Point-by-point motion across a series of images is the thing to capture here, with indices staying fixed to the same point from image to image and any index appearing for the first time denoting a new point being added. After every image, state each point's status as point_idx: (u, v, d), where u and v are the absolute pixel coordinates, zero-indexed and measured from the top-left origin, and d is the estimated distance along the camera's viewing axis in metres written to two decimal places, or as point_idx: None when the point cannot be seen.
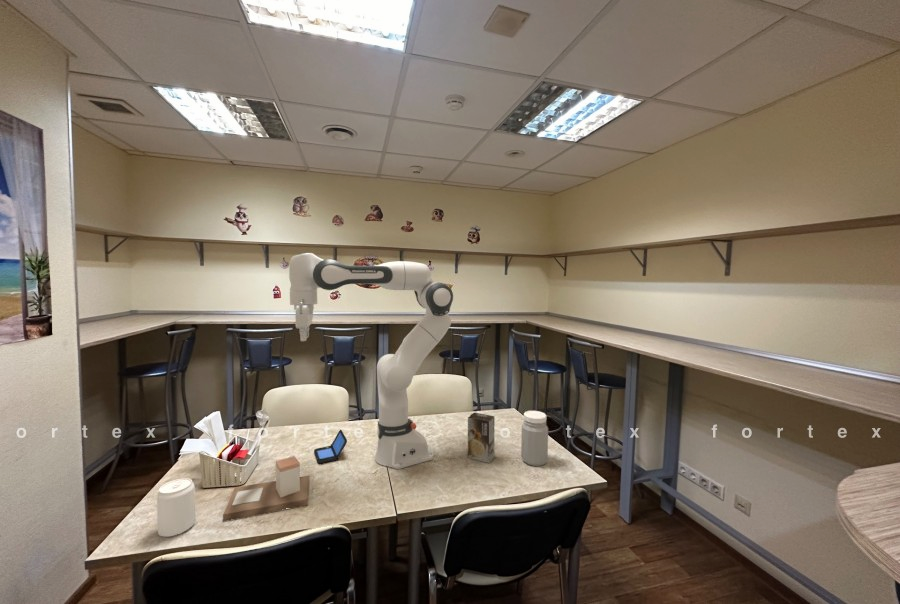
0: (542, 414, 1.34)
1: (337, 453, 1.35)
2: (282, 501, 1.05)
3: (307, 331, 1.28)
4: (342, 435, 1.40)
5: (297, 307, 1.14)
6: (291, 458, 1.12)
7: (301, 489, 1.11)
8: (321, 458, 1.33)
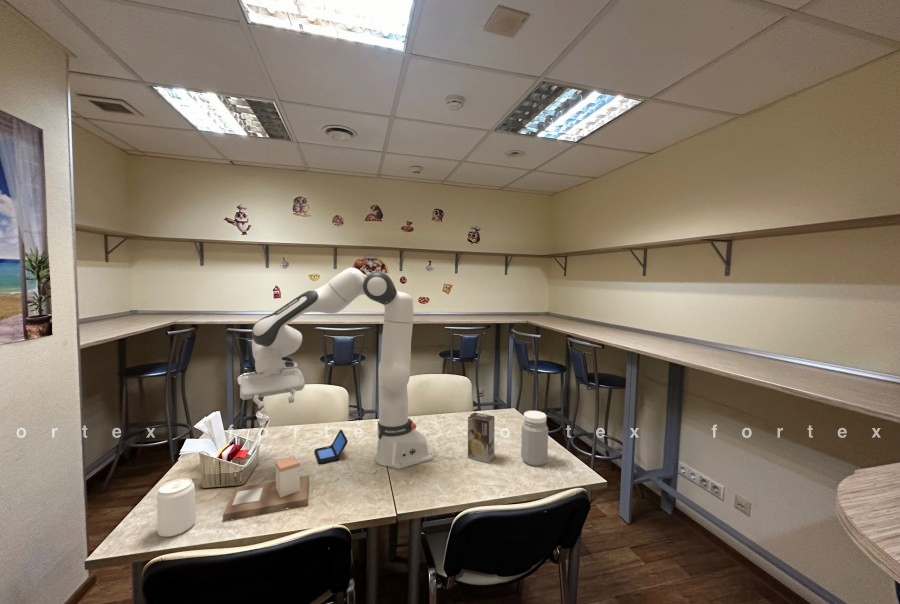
0: (542, 414, 1.34)
1: (338, 453, 1.35)
2: (282, 501, 1.05)
3: None
4: (342, 435, 1.40)
5: None
6: (291, 458, 1.12)
7: (301, 489, 1.11)
8: (322, 458, 1.33)
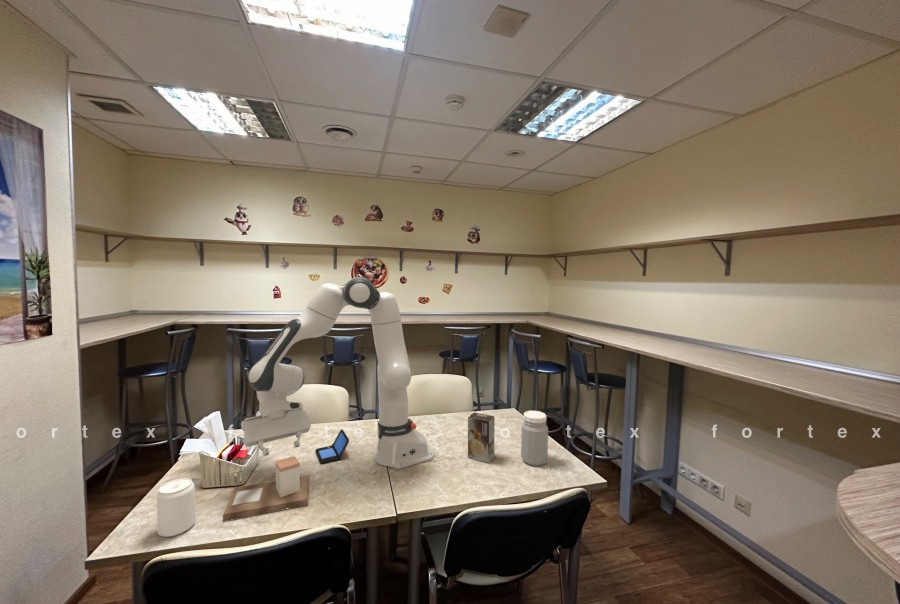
0: (542, 414, 1.34)
1: (339, 453, 1.35)
2: (282, 501, 1.05)
3: (297, 439, 1.19)
4: (344, 435, 1.40)
5: None
6: (291, 458, 1.12)
7: (301, 489, 1.11)
8: (323, 458, 1.33)
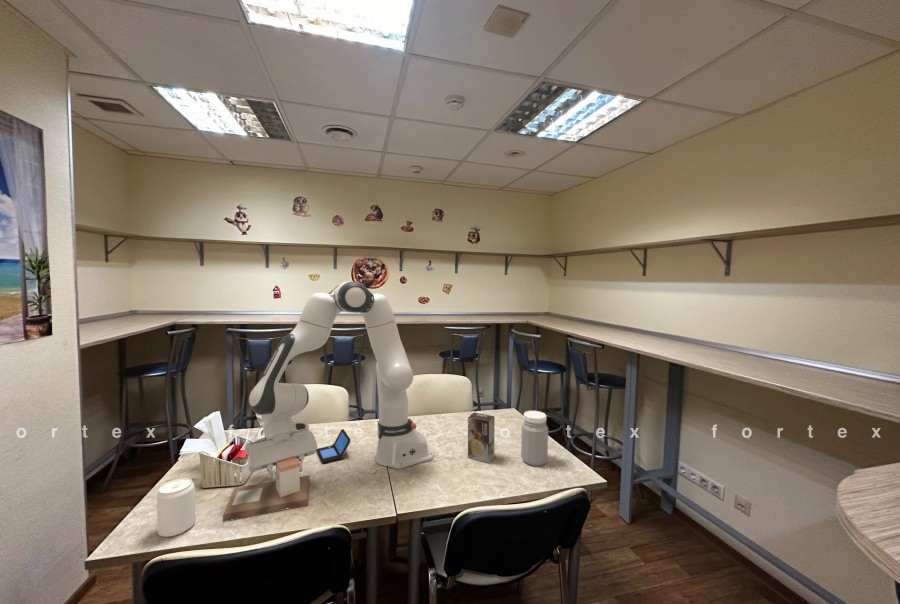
0: (542, 414, 1.34)
1: (340, 452, 1.35)
2: (282, 501, 1.05)
3: None
4: (345, 434, 1.41)
5: None
6: (291, 458, 1.12)
7: (301, 489, 1.11)
8: (325, 457, 1.33)
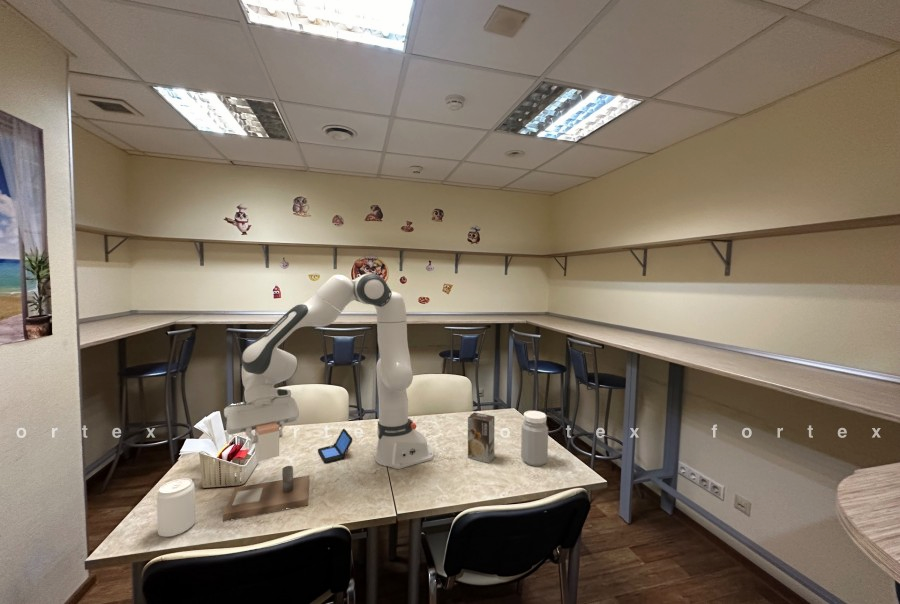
0: (542, 414, 1.34)
1: (343, 452, 1.36)
2: (282, 501, 1.05)
3: (280, 429, 1.10)
4: (346, 434, 1.41)
5: None
6: (271, 423, 1.10)
7: (301, 489, 1.11)
8: (327, 457, 1.34)
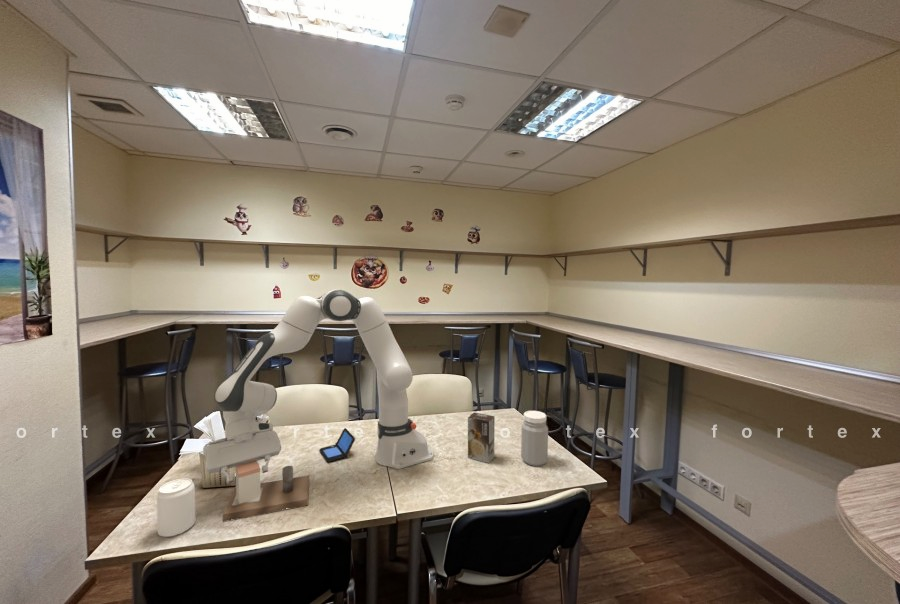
0: (542, 414, 1.34)
1: (345, 451, 1.36)
2: (282, 501, 1.05)
3: None
4: (348, 433, 1.42)
5: None
6: (252, 463, 1.09)
7: (301, 489, 1.11)
8: (329, 457, 1.34)
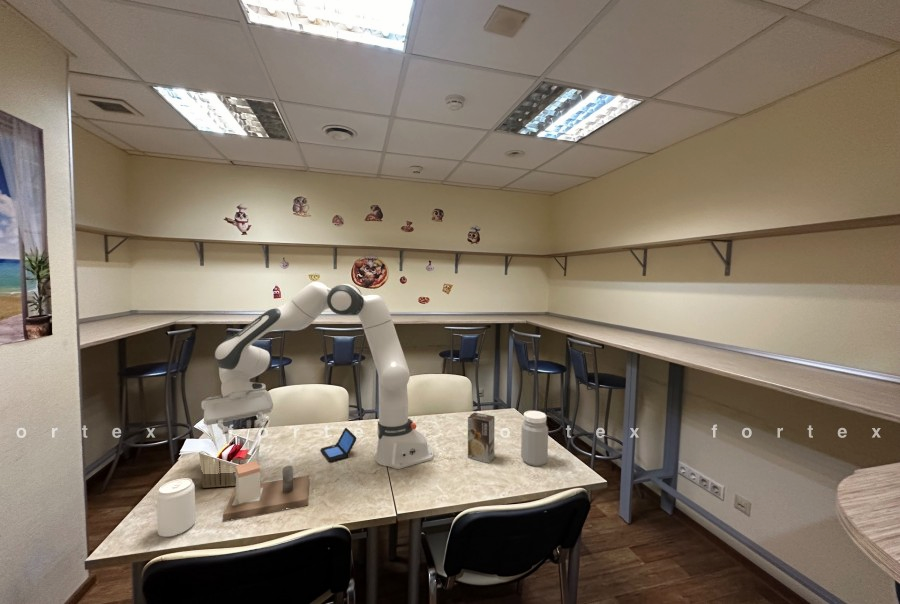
0: (542, 414, 1.34)
1: (346, 450, 1.37)
2: (282, 501, 1.05)
3: None
4: (349, 433, 1.42)
5: None
6: (252, 463, 1.09)
7: (301, 489, 1.11)
8: (331, 456, 1.34)
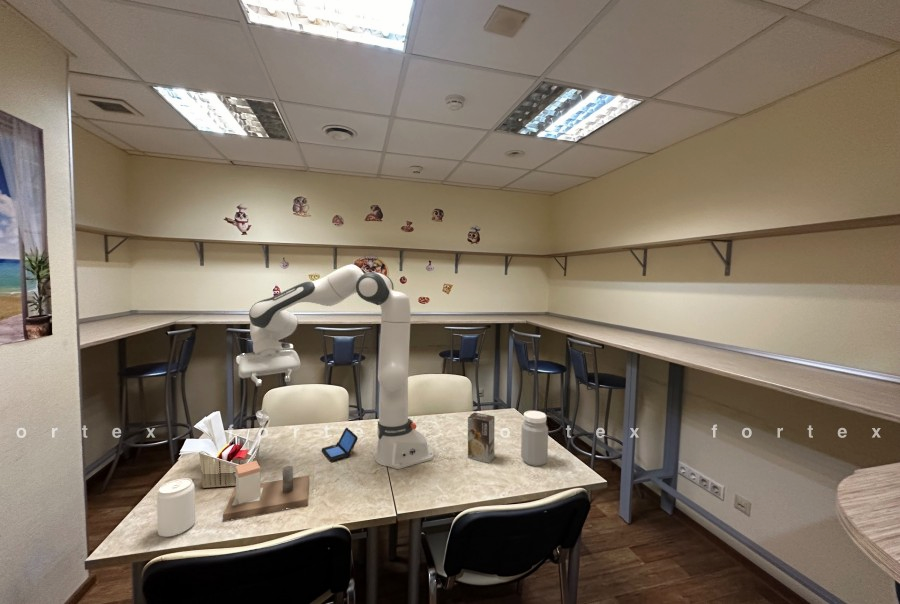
0: (542, 414, 1.34)
1: (348, 450, 1.37)
2: (282, 501, 1.05)
3: None
4: (350, 432, 1.42)
5: None
6: (252, 463, 1.09)
7: (301, 489, 1.11)
8: (332, 456, 1.35)
